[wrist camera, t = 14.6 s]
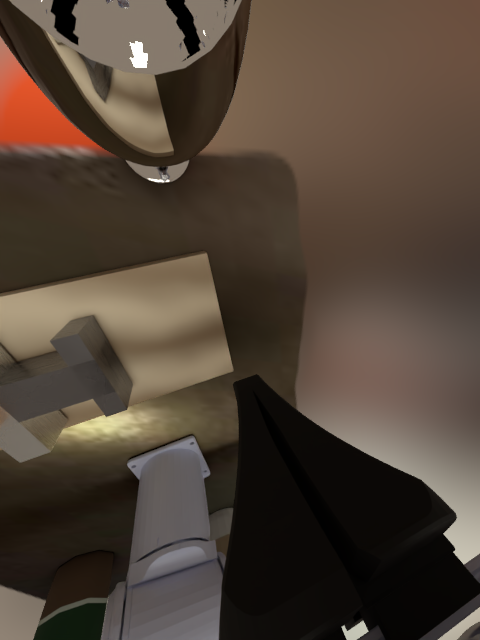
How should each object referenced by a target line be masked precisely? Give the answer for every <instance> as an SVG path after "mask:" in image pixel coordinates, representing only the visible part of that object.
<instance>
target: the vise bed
mask: <svg viewBox="0 0 480 640" xmlns="http://www.w3.org/2000/svg"><path fill="white" fill-rule="evenodd" d="M91 315H94V317H95V319H96V320H97V322H98V324H99V326H100V327H101V329H102V331H103V333H104V334H105V336H106V338H107V340H108V341H109V343H110V345H111V346H112V348H113V350H114V352H115V353H116V355H117V357H118V359H119V360H120V362H121V364H122V366H123V367H124V369H125V371H126V373H127V374H128V376H129V378H130V380H131V381H132V383H133V387H132V391H131V396H130V400H129V404H128V407H129V406H132V405H135V404H138V403H141V402H144V401H147V400H150V399H152V398H155V397H158V396H161V395H164V394H167V393H170V392H173V391H176V390H179V389H182V388H185V387H188V386H191V385H194V384H197V383H200V382H203V381H206V380H209V379H212V378H214V377H217V376H220V375H223V374H226V373H229V372H232V371H233V366H232V362H231V357H230V353H229V349H228V344H227V340H226V335H225V331H224V326H223V322H222V318H221V313H220V309H219V304H218V300H217V295H216V291H215V287H214V282H213V278H212V273H211V269H210V264H209V260H208V256H207V253H206V252H205V251H200V252H195V253H190V254H185V255H181V256H176V257H171V258H166V259H161V260H157V261H152V262H147V263H142V264H138V265H133V266H128V267H123V268H119V269H114V270H109V271H104V272H99V273H95V274H90V275H85V276H80V277H76V278H71V279H66V280H61V281H57V282H52V283H47V284H42V285H37V286H33V287H28V288H23V289H18V290H14V291H9V292H4V293H0V345H1V347H2V348H3V349H4V350H5V351H6V352H7V353H8V354H9V355H10V356H11V358H12V359H13V360H14V361H15V362H19V361H23V360H26V359H30V358H34V357H37V356H41V355H45V354H49V353H52V352H56V351H57V350H56V349H55V348H54V346H53V345H52V344H51V342H50V340H51V339H52V338H53V337H54V336H55V335H56V334H57V333H58V332H59V331H60V330H61V329H62V328H63V327H64V326H65V325H66V324H67V323H68V322H69V321H71V320H75V319H79V318H83V317H87V316H91ZM59 411H60V412H61V413H62V414H63V415H64V416H65V417H66V418H67V419H68V420H67V422H66V424H65V426H64V428H67V427H70V426H73V425H76V424H79V423H82V422H85V421H88V420H91V419H93V418H96V417H99V416H102V415H104V413H103V412H102V411H101V409H100V408H99V406H98V405H97V404H96V402H95V401H94V400H93V399H91V400H88V401H85V402H81V403H78V404H75V405H72V406H69V407H66V408H63V409H60V410H59ZM64 428H63V429H64ZM0 450H2V449H1V448H0Z"/></svg>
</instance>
